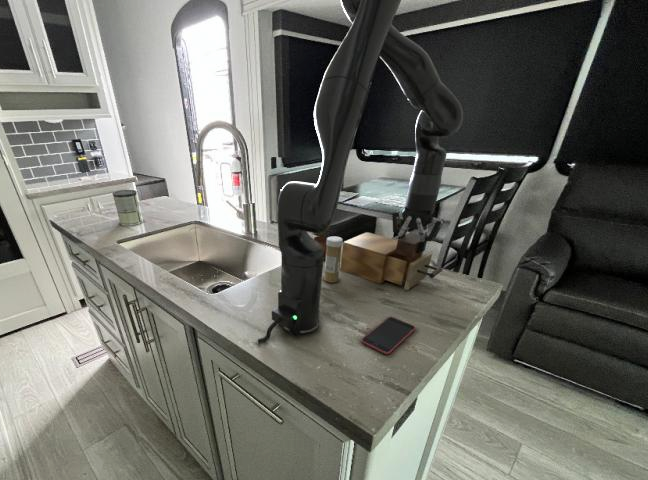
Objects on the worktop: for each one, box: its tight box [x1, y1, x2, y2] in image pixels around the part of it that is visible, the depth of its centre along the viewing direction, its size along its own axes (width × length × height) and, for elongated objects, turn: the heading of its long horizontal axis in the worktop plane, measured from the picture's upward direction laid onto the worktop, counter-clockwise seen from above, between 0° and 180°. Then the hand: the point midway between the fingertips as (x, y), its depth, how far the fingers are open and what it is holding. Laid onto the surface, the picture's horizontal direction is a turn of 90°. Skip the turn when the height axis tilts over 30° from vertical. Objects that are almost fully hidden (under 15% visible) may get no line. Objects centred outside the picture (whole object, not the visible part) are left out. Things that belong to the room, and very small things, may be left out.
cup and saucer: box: [313, 235, 331, 260], centre depth 116 cm, size 12×12×6 cm
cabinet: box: [339, 231, 398, 285], centre depth 104 cm, size 15×14×10 cm
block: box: [395, 233, 420, 258], centre depth 93 cm, size 5×8×4 cm, turn 134°
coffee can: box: [112, 189, 144, 227], centre depth 150 cm, size 10×10×14 cm
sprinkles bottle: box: [323, 236, 344, 283], centre depth 97 cm, size 5×5×14 cm
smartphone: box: [361, 316, 416, 355], centre depth 75 cm, size 7×1×14 cm
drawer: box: [382, 251, 444, 291], centre depth 97 cm, size 18×12×8 cm
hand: (409, 250), depth 94 cm, fingers closed on block, 5 cm apart
